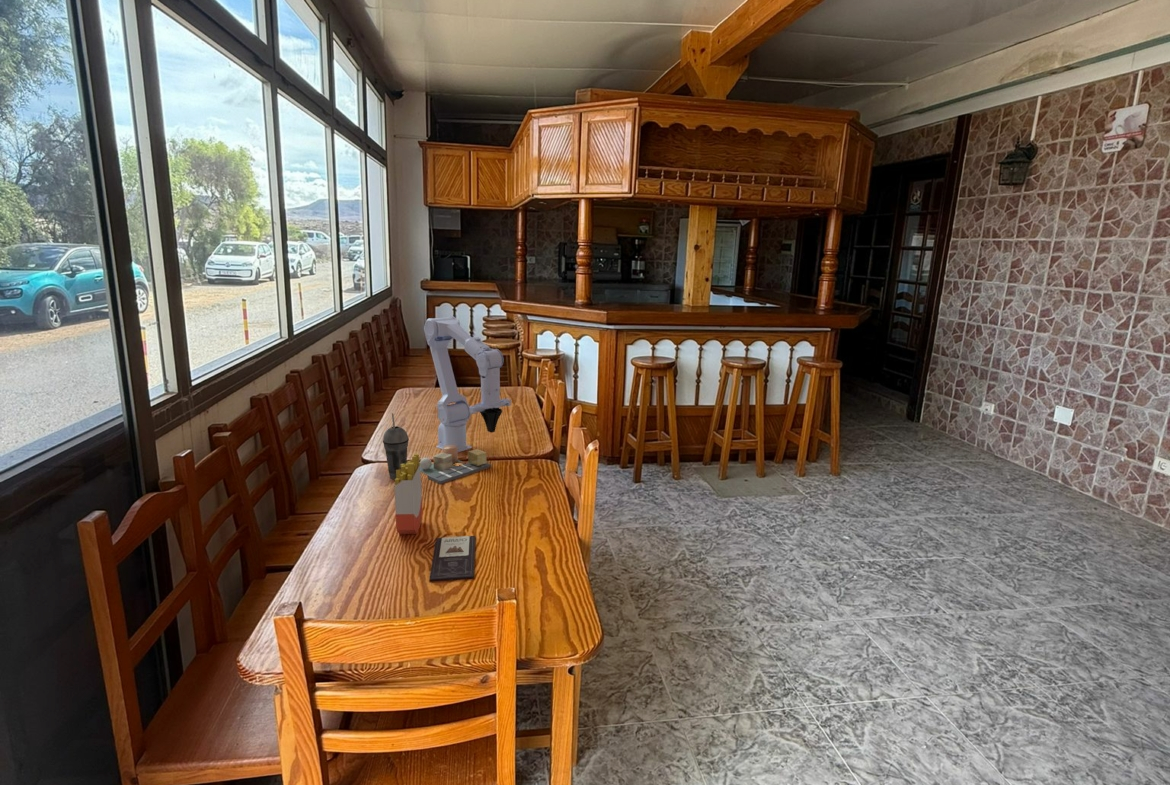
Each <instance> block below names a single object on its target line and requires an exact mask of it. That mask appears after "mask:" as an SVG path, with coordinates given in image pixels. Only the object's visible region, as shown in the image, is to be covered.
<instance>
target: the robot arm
mask: <svg viewBox="0 0 1170 785" xmlns="http://www.w3.org/2000/svg"><path fill="white" fill-rule="evenodd" d="M423 332H424V335H425V340H426V342H427V345H428V346H429V350H430V354H431V356H432V357H431V358H432V360H433V364H434V365H433V366H434V368H435V373H436V376H437V380H438V384H439V389H440V392H441V395H442V397H441V398H440V399H439V400H438V401H437V404H436V407H437V418H438V420H439V422H440V424H439V425H438V428H437V438H438V445H436V446H435V447H436V448H437V449H441V450H442V451H443V446H446V445H456V446H457V453H460V452H464V451H466V450H470V449H473V446H471V445H468V444H467V423H468V422H469V421H468V420H469V419H470V418H471V416H472V414H473V415H475V414H477V413H480V414H481V416H482V418H483V421H484V423H485V427H486V430H487V432H489V433H495V432H496V428H497V424H498V421H499V418H500V417H501V415H502V413H503V409H502V408H503V407H507V406H508V407H510V406H512V399H510V398H503V399H501V382H500V380H501V379H500V378H501V374H500V373H501V372H500V371H501V370H500V368H502V367H503V365H504V360H505V359H504V355H503V352H502V351H500V350H499V349H498V348H491V347H490V346H489V345H487V344H486V343H484V342H483V341H482V340H481V338H480V337H478V336H473V337H472V336H471V335H470V334H469V333H468V332H467V331H466V330H465V329H464V328H463V327H462V326H461V323H460V320H458V319H457V318H456V317H455V316H454V315H453V316H446V317H436V318H432V317H431V318H427V319H426V321H425V324H424V326H423ZM453 340H456V341H457V342H458V343H459V344H461V345H462V346H464V347H463V348H464V351H465V353H467V354H468V355H469V356H470V357H471V358H472V359H474V361H475V363H476V366H477V367H478V374H479V376H480V394H481V395H480V396H481V397H480V400H481V401H480V402H478V403H477V404H474V405H469V403H468V400H467V398H466V396H465V395H462V394H461V393H459V390H458V385H457V382H456V379H455V375H454V371H453V366H452V362H451V358H450V354H449V351H448V345H449V344H450V343H452V342H453Z"/></svg>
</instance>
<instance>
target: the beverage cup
mask: <svg viewBox="0 0 1170 785" xmlns="http://www.w3.org/2000/svg"><path fill="white" fill-rule="evenodd" d="M391 419H392V426H391V427H389V428H388V429H387V430H386V431H384V434H383V436H382V437H383V438H382V443H383V447H384V449H385V457H386V463H387V468H388V469H387V470H388V475H389V479H391V480H394V481H395V479H396V470H401V466H400V465H401V464H406V463H407V461H408V447H409V441H410V439H409V435H408V433H407V431H406V430H405V429H404V428H403V427H400V426H398V425H397V426H396V425H395V424H396V423H395V416H394V412H392V413H391Z"/></svg>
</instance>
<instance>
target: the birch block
mask: <svg viewBox="0 0 1170 785" xmlns="http://www.w3.org/2000/svg"><path fill="white" fill-rule="evenodd" d="M433 463H434V469H437V470H442V471H444V470H447V469H450V468H452V467H453V462H452V455H451V454H447V453H443V452H439V453H437V454H435V455H433Z"/></svg>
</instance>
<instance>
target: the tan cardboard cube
mask: <svg viewBox="0 0 1170 785" xmlns="http://www.w3.org/2000/svg"><path fill="white" fill-rule="evenodd" d="M467 456H468V458H467V459H468V460H467V461H468V462H467V463H471V464H474V465H476V466H479V465H482V464H485V463H486V462H487V452H486V451H484V450H481V449H478V448H476V449H472V450H469V451H467Z"/></svg>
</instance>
